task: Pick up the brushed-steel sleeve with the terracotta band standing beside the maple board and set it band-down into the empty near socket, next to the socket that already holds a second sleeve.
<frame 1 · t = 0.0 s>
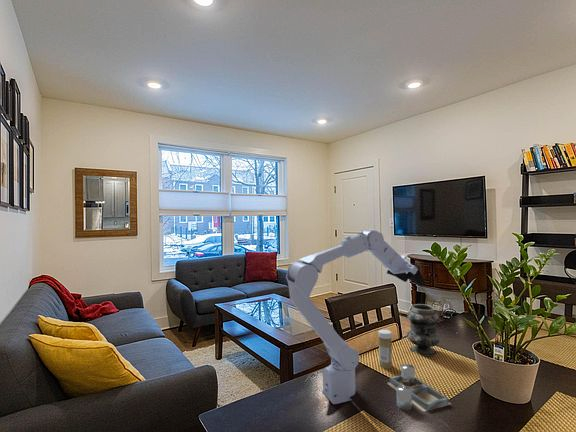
hand: (414, 281, 106), 32 cm above the table, tool tilted 50°, fingers open, 7 cm apart
apothecary jar: (423, 352, 127), on the table
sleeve: (404, 410, 89), on the table
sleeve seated: (408, 386, 99), point 1 cm above the table, touching board
sprinkles bottle: (385, 369, 113), on the table
board: (417, 396, 95), on the table
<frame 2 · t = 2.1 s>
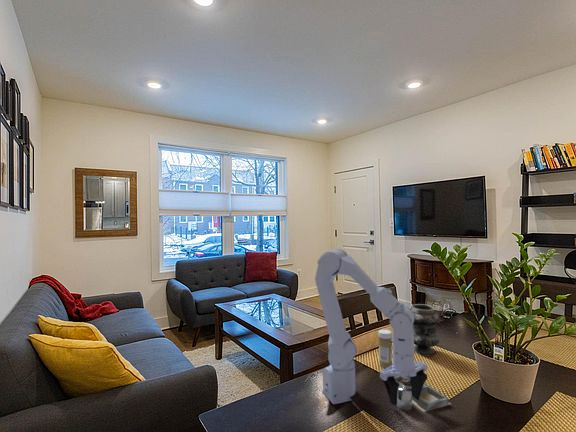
hand: (404, 400, 89), 3 cm above the table, tool pointing down, fingers open, 7 cm apart
nothing on the table moved.
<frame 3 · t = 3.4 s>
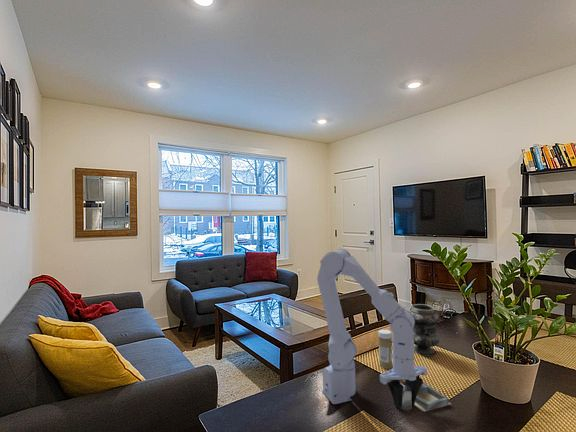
hand: (404, 404, 89), 2 cm above the table, tool pointing down, fingers closed on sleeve, 4 cm apart
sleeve: (404, 410, 89), on the table, touching gripper
everything else where it was.
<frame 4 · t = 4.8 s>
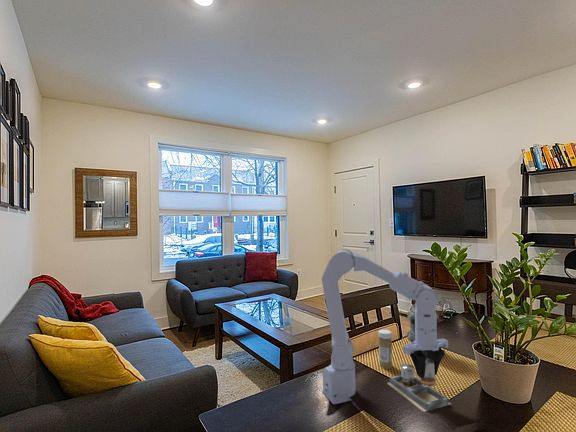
hand: (426, 375, 91), 8 cm above the table, tool pointing down, fingers closed on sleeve, 4 cm apart
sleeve: (427, 381, 91), point 6 cm above the table, touching gripper
everything else where it was.
when the fingers open (4 cm above the table, at t = 6.3 s): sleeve stays where it is, resting on board.
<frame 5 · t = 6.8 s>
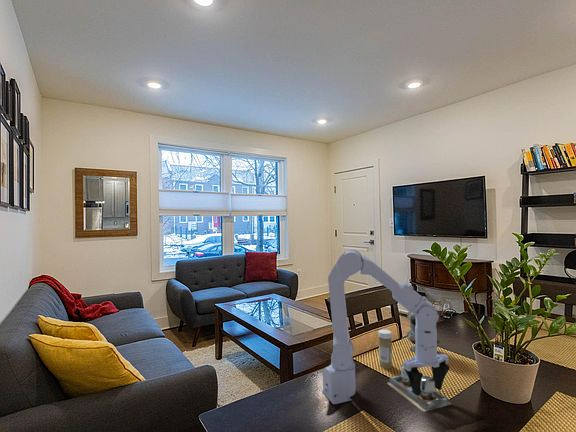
hand: (427, 390, 91), 4 cm above the table, tool pointing down, fingers open, 7 cm apart
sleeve: (427, 400, 91), point 1 cm above the table, touching board
everything else where it was.
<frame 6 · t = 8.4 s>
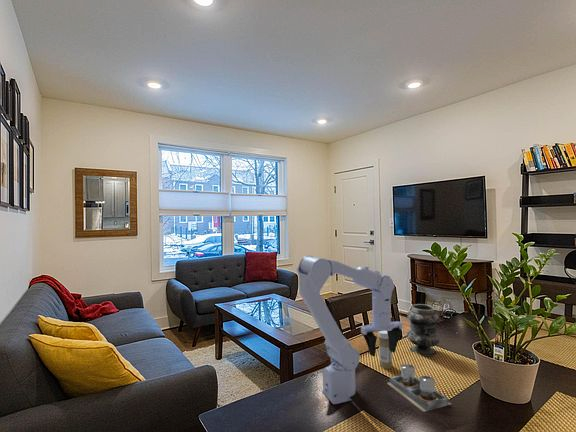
hand: (382, 353, 103), 10 cm above the table, tool pointing down, fingers open, 7 cm apart
nothing on the table moved.
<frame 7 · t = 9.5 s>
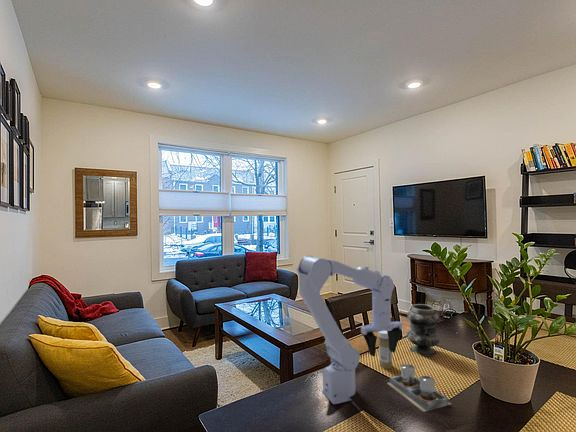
hand: (382, 353, 103), 10 cm above the table, tool pointing down, fingers open, 7 cm apart
nothing on the table moved.
at the end: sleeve 0.1 cm from the target spot on the board, point 1.2 cm above the board's base; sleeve tilted 0°; the gripper is holding nothing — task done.
